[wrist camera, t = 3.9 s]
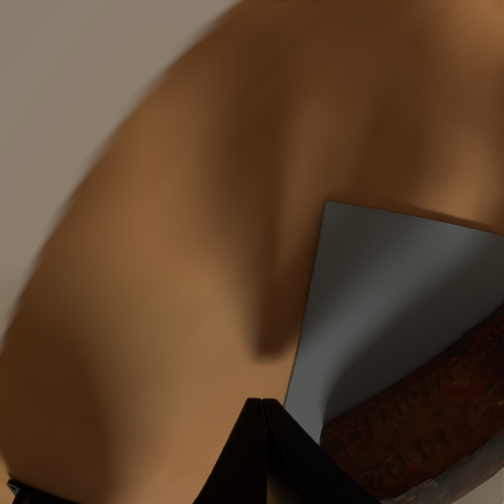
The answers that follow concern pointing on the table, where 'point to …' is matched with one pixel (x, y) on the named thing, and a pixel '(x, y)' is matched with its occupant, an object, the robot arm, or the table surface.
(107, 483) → the table surface
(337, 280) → the grey mat
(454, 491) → the brick
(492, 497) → the block
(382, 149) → the table surface
